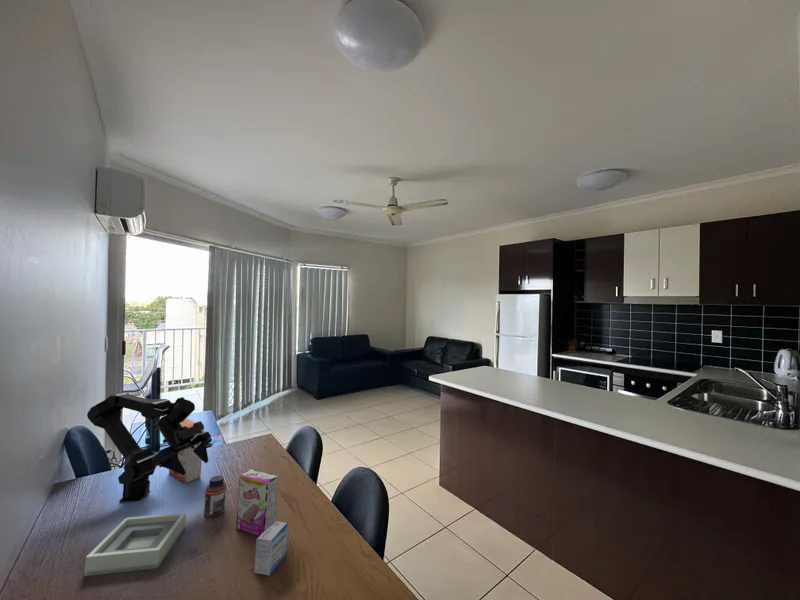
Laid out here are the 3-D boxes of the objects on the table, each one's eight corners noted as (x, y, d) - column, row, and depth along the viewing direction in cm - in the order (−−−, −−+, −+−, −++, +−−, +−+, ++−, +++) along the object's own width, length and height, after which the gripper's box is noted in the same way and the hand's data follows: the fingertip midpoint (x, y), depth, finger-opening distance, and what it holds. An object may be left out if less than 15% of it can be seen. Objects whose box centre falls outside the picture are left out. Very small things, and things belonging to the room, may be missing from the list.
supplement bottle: (202, 511, 107) (205, 476, 108) (222, 505, 110) (225, 471, 111) (204, 520, 102) (207, 484, 103) (225, 514, 106) (228, 479, 106)
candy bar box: (234, 530, 98) (238, 475, 99) (247, 520, 103) (250, 468, 104) (263, 539, 95) (267, 482, 96) (275, 529, 99) (279, 475, 100)
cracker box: (167, 473, 130) (171, 421, 132) (183, 468, 136) (187, 418, 137) (184, 484, 123) (188, 428, 124) (200, 478, 128) (205, 424, 129)
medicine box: (269, 577, 81) (271, 541, 82) (253, 573, 82) (256, 538, 83) (286, 554, 89) (288, 522, 90) (271, 551, 90) (273, 519, 90)
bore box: (83, 576, 79) (85, 557, 79) (124, 533, 95) (125, 517, 95) (157, 568, 83) (159, 549, 83) (184, 528, 98) (185, 513, 98)
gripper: (162, 424, 102) (188, 465, 99) (208, 409, 120) (232, 443, 117) (140, 446, 103) (165, 487, 100) (189, 428, 121) (212, 462, 118)
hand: (196, 468), depth 109 cm, fingers open, 9 cm apart
